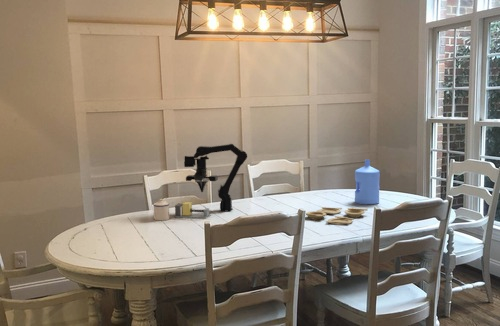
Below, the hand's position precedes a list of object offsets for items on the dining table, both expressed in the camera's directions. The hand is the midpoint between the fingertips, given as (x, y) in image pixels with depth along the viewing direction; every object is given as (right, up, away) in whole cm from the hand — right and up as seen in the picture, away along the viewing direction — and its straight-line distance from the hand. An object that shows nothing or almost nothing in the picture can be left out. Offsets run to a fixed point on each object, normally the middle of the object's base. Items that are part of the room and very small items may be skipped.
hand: (202, 192), depth 286 cm
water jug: (+106, -8, +19) cm, 108 cm away
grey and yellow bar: (-4, -14, -12) cm, 18 cm away
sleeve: (-7, -13, -11) cm, 18 cm away
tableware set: (+78, -14, -19) cm, 81 cm away
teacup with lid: (-22, -15, -15) cm, 31 cm away
